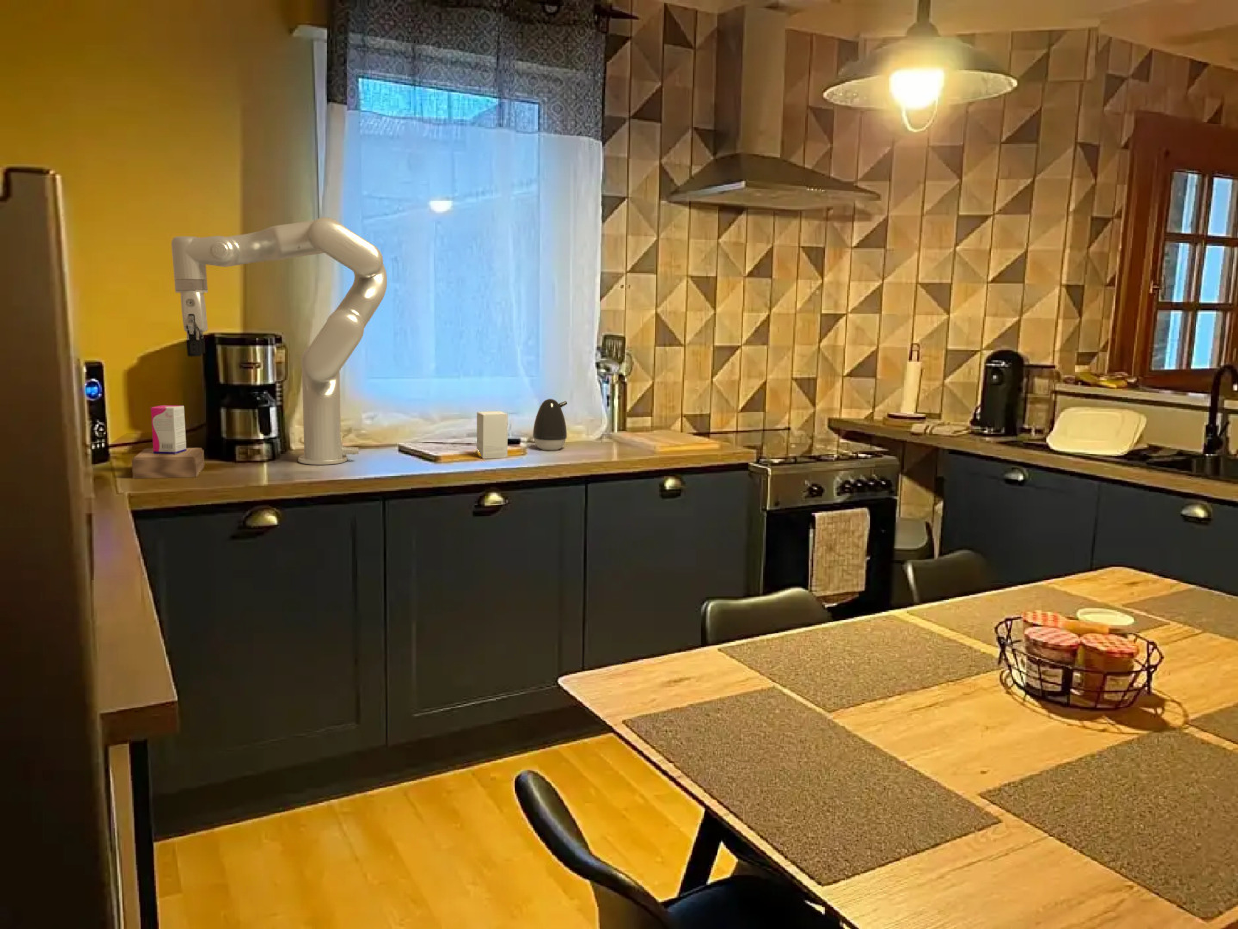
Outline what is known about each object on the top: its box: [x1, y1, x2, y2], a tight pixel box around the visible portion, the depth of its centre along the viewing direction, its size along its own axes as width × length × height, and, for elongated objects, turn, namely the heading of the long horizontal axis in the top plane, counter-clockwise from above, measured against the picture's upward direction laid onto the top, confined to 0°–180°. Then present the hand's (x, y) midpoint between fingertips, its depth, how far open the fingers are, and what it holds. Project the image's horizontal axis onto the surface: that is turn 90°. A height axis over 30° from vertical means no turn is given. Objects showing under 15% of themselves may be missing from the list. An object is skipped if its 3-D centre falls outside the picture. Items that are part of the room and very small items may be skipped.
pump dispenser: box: [532, 398, 568, 452], centre depth 290 cm, size 10×10×15 cm
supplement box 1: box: [150, 404, 187, 454], centre depth 238 cm, size 6×6×12 cm
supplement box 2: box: [476, 410, 509, 460], centre depth 274 cm, size 7×7×13 cm
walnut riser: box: [131, 447, 205, 479], centre depth 239 cm, size 14×14×5 cm
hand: (196, 354), depth 247 cm, fingers open, 9 cm apart
